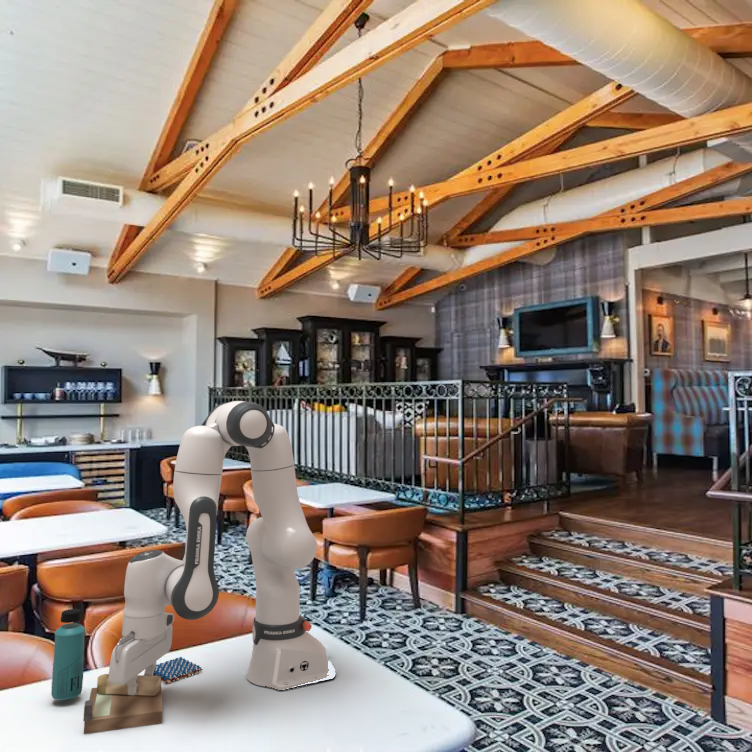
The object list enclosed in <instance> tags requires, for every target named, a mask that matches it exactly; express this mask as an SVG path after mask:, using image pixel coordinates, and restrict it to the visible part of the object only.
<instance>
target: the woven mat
mask: <svg viewBox="0 0 752 752" xmlns="http://www.w3.org/2000/svg"><path fill="white" fill-rule="evenodd" d="M198 671H201V672H202V671H203V668H202V667H201V666H200V665H197V664H196V663H193V662H192V661H189V660H187V659H186V658H183V657H182V656H180V657H175V658H173V659H170V660H166V661H165V662H160V663H158V664H156V667H155V670H154V673H153V676H161V682H163V683H165V685H169V684H172V683H175V682H179V681H180V679H181V680H183V679H185V678H186V679H187V678H190V677H192V674H194V673H196V674H195V675H198V674H199V672H198Z"/></svg>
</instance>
